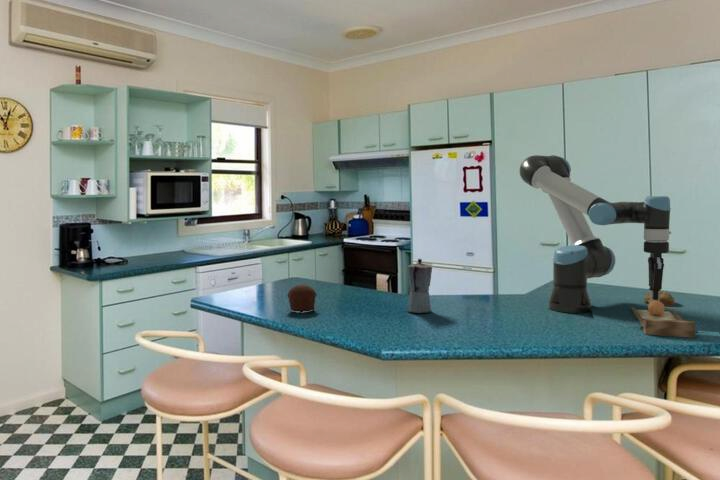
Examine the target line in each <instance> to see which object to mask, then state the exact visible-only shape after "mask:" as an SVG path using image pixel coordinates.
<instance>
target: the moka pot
mask: <svg viewBox="0 0 720 480" xmlns="http://www.w3.org/2000/svg"><path fill="white" fill-rule="evenodd" d="M422 261H423V260H422V259H421V258H418V259H417V263H413V264H409V265H407V266H406V267H407V273H408V274H407V275H408V277H407V278H408V284H409V291H410V292H409V296H408V304H407V309H406V310H407V312H410V313H414V314H426V313H427V314H428V313H430V312H432V307H431V299H430V286H431V281H432V272H433V271H432V270H433V266H432V265H429V264H425V263H422Z"/></svg>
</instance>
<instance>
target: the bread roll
mask: <svg viewBox="0 0 720 480" xmlns="http://www.w3.org/2000/svg"><path fill="white" fill-rule="evenodd" d="M643 301H644V304H647V305H648V304H649V303H650V292H649V293H648V294H647V295H646V296H645V297H644V299H643ZM660 302H661V303H663V305H664V307H672V306H673V307H674V306H675V305H676V302H675V298H674V297H673V296H672V294H671V293H670V292H667V291H666V290H662V289H661V290H660Z"/></svg>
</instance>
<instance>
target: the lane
mask: <svg viewBox="0 0 720 480" xmlns="http://www.w3.org/2000/svg"><path fill="white" fill-rule="evenodd" d="M630 307H631V308H630V310H631V311H632V313H633V314H634V317H636V320H638V322H639V323H640V325H641V326H640V329H641V330H642V332H643V331H644V332H643V333H644V335H648V336H649V335H650V336H664V337H677V338H678V337H679V338H691V339H692V338H693V339H696V324H697V323H696V322H695V321H693V320H685V319H683V318H682V316H681V315H679V314H678V313H677V312H676V311H675V310H674V308H673V309H669V310H668V311H665V310H664V312H663V313H662V314H660V315H653V314H651V313H650V312H649V310H648V309H647V310H646V309H636V307H635V306H630Z"/></svg>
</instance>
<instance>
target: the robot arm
mask: <svg viewBox="0 0 720 480" xmlns="http://www.w3.org/2000/svg"><path fill="white" fill-rule="evenodd" d="M571 172H572V169H571V165H570V162H569V161H568V160H567V159H565V158H564V157H562V156H557V155H555V154H554V155H536V154H535V155H530V156H528V157H526V158H525V159H524V160H523V161H522V162H521V164H520V166H519V176H520V178H521V180H522V181H523V182H524V183H526V184H527V185H528V186H530V187H532V188H534V189H535V190H536V189H537V190H538V189H541V191H542V193H545V194H548V196H549V198H550V200H551V203H552V205H553V207H554V209H555V211H556V214H557V216H558V217H559V220H560V221H561V224H562V226H563V228H564V230H565V233H566V234H567V237H568V239H569V241H570V243H571V245H562V246H560V247H557V248H556V249H555V250H554V253H553V259H552V260H553V261H552V262H553V277H552V278H553V283H552V284H553V286H552V291H551V293H550V296H549V298H548V300H547V307H548V309H549V310H553V311H557V312H561V313H570V314H571V313H572V314H578V313H589V312H591V311H592V301H591V298H590V295H589V292H588V279H593V278H601V277H604V276H607V275H609V274H610V273H612V271H613V270H614V268H615V266H616V265H615V264H616V256H615V253H614V251H613V250H612V249H611V248H610V247H607V246H605V245H604V244H603V242H602V240H601V238H599V237H596V236H594V234H593V231H592V230H591V227H590V225H589V224H588V223H589V222H588V221H587V219H586V217H585V215H586V216H588V218H589V220H590V222H591V223H592V224H593V225H598V226H609V225H619V224H644V226H643V240H644V242H643V252H644V253H648V254H649V257H648V258H647V264H648V286H649V288H648V290H649V293H650V302H652V301H660V290H662V288H663V287H662V285H663V278H664V277H663V275H664V268H665V263H664V258H663V255H662V254H668V253H669V252H670V242H668V241H669V240H670V235H671V234H672V231H670V218H671V209H672V208H671V198H670V197H669V196H666V195H663V196H660V195H658V196H655V195H654V196H653V195H651V196H646V197H645V198H644V201H617V202H610V201H608V200H606V199H604V198H602V197H601V196H598V195H597V194H594V192H591V191H589V190H588V189H585V188H584V187H582V186H580V185H578V184H576V183H574V182H572V181H571V178H570V177H571ZM584 214H585V215H584Z"/></svg>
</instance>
